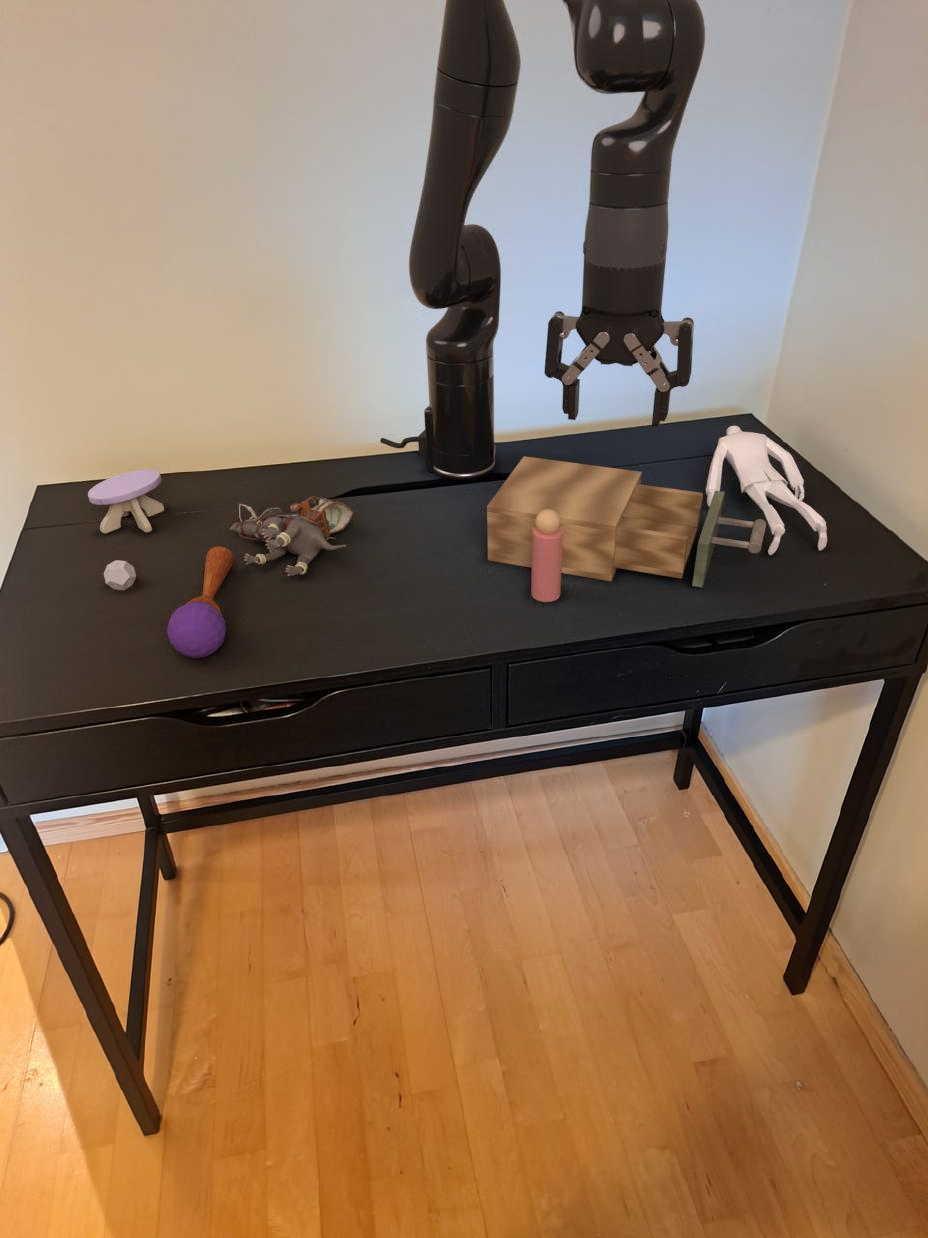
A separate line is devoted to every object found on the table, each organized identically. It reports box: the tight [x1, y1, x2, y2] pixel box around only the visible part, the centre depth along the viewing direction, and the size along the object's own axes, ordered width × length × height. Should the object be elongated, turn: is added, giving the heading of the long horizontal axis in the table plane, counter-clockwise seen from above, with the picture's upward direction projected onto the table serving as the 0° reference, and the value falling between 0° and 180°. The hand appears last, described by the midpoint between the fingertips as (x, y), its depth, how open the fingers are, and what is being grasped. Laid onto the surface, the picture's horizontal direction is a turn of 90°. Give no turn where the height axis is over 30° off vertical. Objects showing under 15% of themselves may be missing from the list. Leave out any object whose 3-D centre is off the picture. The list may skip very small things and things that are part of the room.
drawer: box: [614, 484, 767, 588], centre depth 108 cm, size 20×13×6 cm
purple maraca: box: [166, 546, 235, 659], centre depth 102 cm, size 6×6×20 cm
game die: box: [103, 559, 137, 591], centre depth 108 cm, size 4×4×3 cm
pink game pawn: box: [530, 509, 563, 603], centre depth 101 cm, size 3×3×11 cm
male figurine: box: [705, 425, 828, 556], centre depth 119 cm, size 14×6×25 cm
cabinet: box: [486, 456, 643, 582], centre depth 112 cm, size 16×15×8 cm
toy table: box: [87, 468, 165, 534], centre depth 121 cm, size 10×9×6 cm
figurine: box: [229, 495, 354, 577], centre depth 114 cm, size 20×6×17 cm
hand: (614, 420), depth 92 cm, fingers open, 8 cm apart
